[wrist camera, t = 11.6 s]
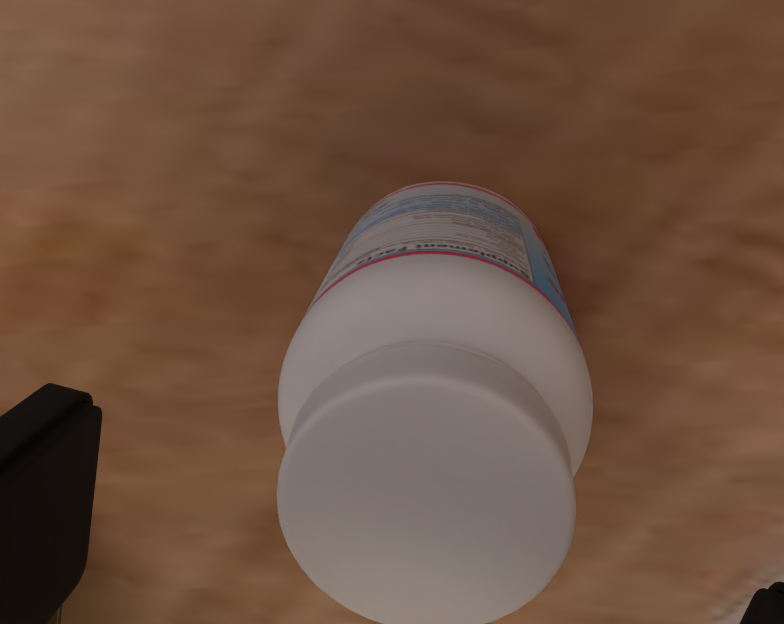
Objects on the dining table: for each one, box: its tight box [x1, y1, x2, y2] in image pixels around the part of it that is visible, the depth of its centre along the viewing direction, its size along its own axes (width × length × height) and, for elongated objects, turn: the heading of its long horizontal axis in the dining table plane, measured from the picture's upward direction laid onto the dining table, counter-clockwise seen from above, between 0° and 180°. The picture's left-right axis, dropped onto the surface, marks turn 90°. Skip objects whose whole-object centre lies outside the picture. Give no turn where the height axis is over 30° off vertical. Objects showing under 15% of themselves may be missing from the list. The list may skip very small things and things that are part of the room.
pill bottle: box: [277, 181, 593, 624], centre depth 16 cm, size 6×6×11 cm
